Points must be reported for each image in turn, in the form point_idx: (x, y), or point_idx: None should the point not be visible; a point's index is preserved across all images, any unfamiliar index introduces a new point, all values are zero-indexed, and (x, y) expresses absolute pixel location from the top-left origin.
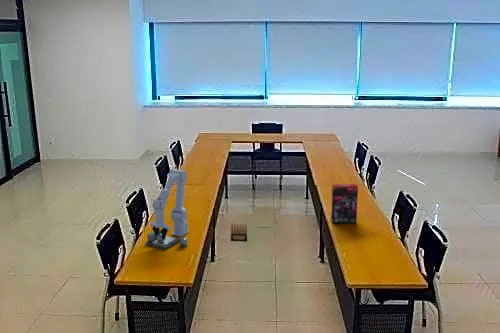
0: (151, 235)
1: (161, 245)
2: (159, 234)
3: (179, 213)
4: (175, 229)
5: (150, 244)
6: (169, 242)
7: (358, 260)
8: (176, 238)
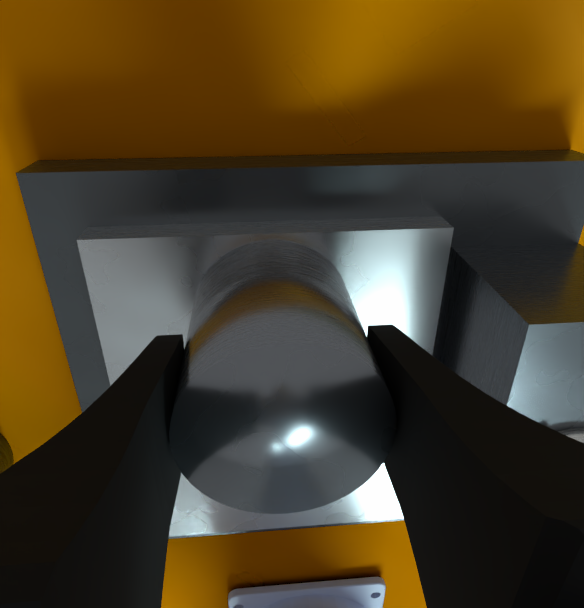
0: (559, 327)
1: (182, 225)
2: (318, 428)
3: None
4: None
5: (448, 159)
6: (111, 383)
7: None
8: None
